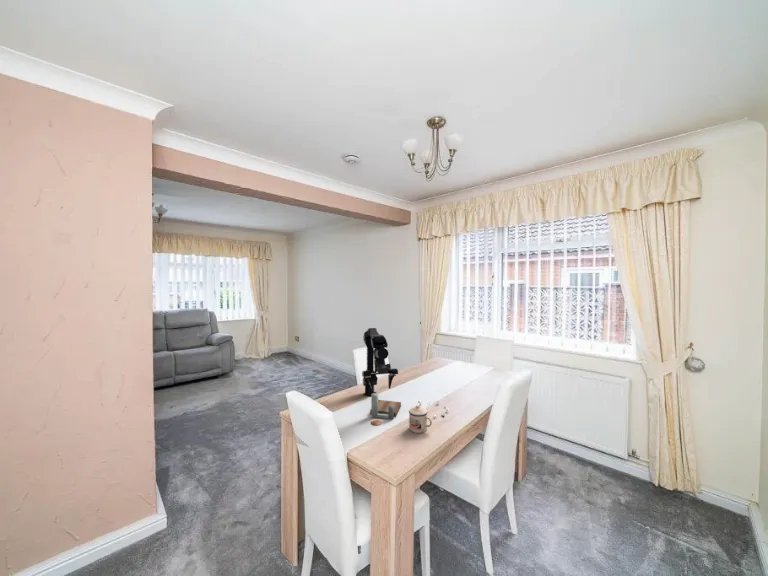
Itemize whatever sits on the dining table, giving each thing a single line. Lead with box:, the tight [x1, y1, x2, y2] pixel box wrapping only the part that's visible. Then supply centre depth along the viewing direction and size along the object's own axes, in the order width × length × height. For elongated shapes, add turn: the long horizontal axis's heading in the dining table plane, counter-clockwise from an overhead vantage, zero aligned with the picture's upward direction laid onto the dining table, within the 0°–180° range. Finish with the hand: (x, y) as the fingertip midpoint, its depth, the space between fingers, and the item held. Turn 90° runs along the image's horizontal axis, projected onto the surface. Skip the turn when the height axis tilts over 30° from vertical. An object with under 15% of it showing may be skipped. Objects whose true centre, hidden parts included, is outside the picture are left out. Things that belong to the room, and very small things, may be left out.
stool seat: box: [370, 399, 402, 426], centre depth 160 cm, size 14×25×2 cm, turn 165°
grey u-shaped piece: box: [370, 392, 395, 420], centre depth 156 cm, size 12×4×12 cm, turn 75°
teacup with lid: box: [408, 404, 433, 434], centre depth 144 cm, size 12×9×12 cm
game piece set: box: [417, 399, 450, 419], centre depth 165 cm, size 19×20×4 cm
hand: (381, 389), depth 155 cm, fingers open, 9 cm apart
